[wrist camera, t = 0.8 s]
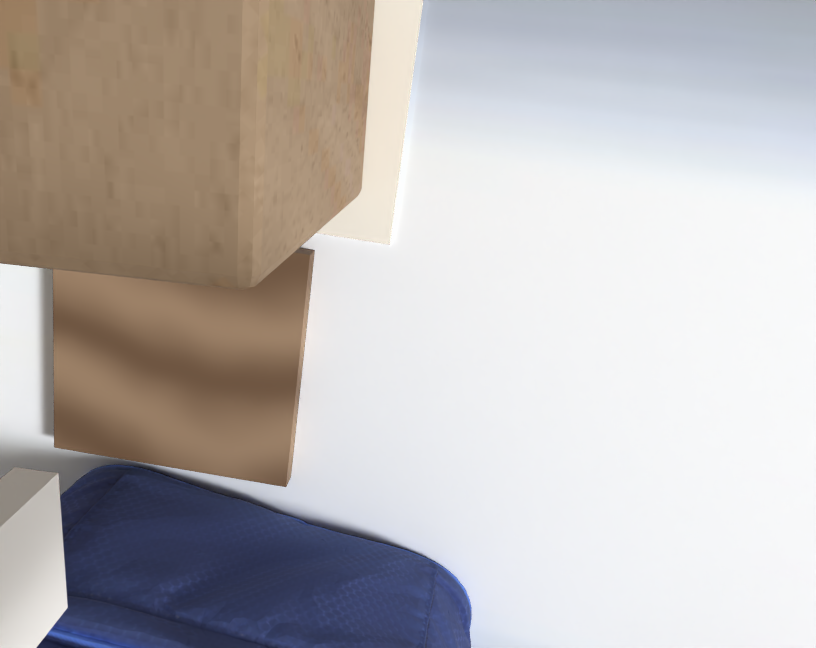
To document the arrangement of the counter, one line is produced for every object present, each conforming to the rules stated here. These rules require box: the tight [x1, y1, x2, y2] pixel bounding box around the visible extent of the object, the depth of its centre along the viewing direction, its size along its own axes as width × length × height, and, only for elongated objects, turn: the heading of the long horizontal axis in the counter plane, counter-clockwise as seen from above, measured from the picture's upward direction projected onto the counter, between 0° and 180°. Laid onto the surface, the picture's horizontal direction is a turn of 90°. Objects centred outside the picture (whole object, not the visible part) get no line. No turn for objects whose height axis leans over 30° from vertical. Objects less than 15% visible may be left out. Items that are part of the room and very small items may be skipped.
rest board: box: [53, 248, 315, 487], centre depth 41 cm, size 14×14×1 cm
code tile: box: [316, 0, 423, 245], centre depth 37 cm, size 14×14×1 cm
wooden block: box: [0, 0, 375, 290], centre depth 28 cm, size 10×10×20 cm
